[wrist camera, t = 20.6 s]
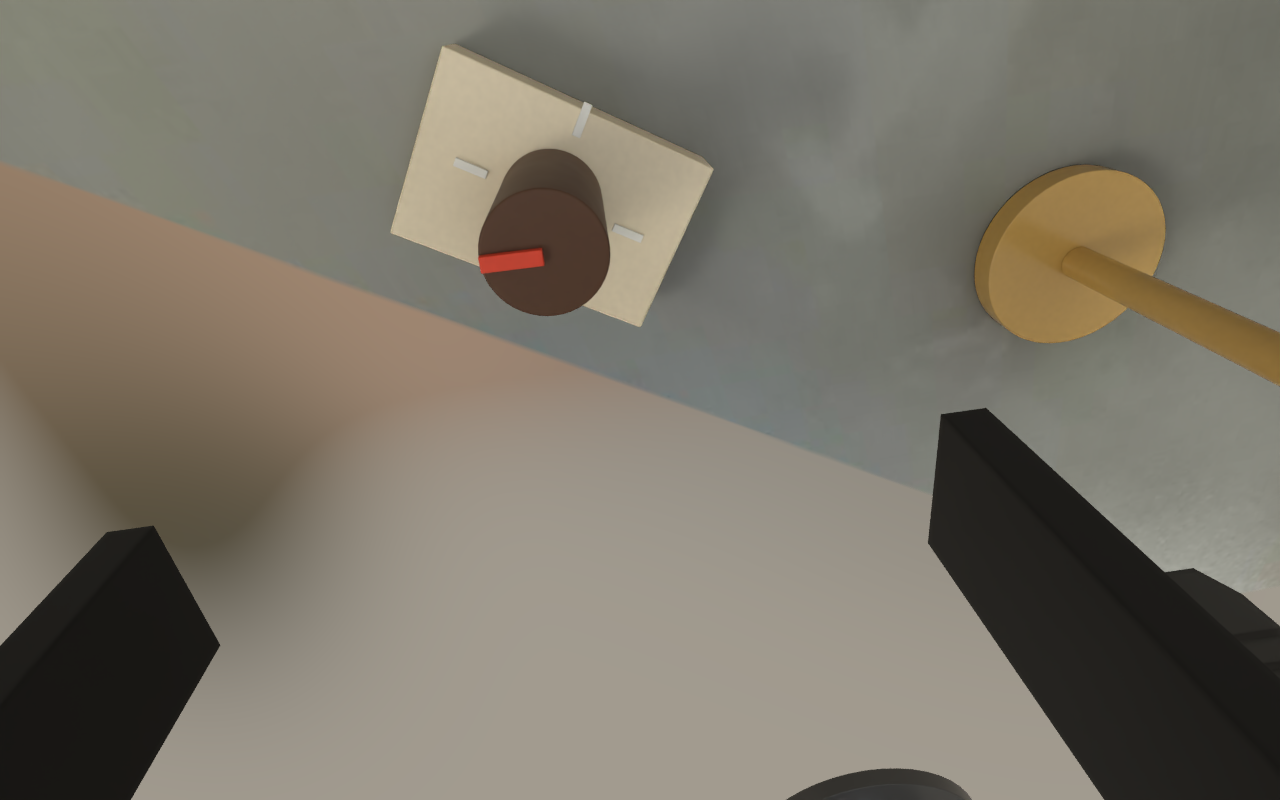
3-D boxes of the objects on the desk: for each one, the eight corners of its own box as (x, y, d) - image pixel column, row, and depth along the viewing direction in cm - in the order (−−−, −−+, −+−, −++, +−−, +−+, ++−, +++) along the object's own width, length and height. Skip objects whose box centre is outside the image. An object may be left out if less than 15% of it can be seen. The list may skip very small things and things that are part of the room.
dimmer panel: (633, 311, 36) (638, 334, 34) (402, 222, 33) (386, 240, 31) (706, 151, 33) (718, 162, 30) (455, 35, 30) (443, 37, 27)
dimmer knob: (595, 142, 29) (602, 181, 22) (608, 244, 32) (618, 311, 24) (490, 154, 29) (463, 198, 22) (510, 256, 31) (491, 327, 24)
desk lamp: (1067, 354, 40) (1729, 800, 17) (940, 298, 38) (1509, 727, 15) (1180, 206, 36) (2215, 522, 13) (1047, 134, 34) (2023, 366, 11)
